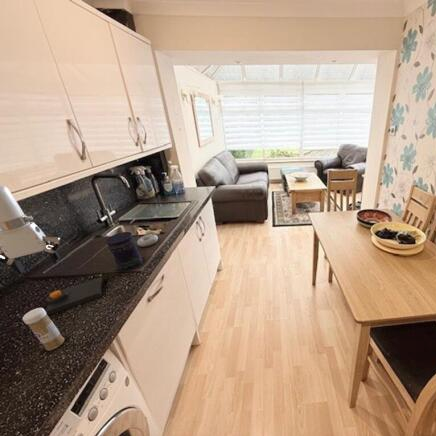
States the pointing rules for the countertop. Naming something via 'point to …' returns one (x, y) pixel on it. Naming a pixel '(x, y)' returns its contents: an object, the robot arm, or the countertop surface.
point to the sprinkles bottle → (43, 328)
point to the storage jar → (124, 251)
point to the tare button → (55, 294)
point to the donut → (147, 240)
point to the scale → (75, 295)
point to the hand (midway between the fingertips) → (40, 266)
